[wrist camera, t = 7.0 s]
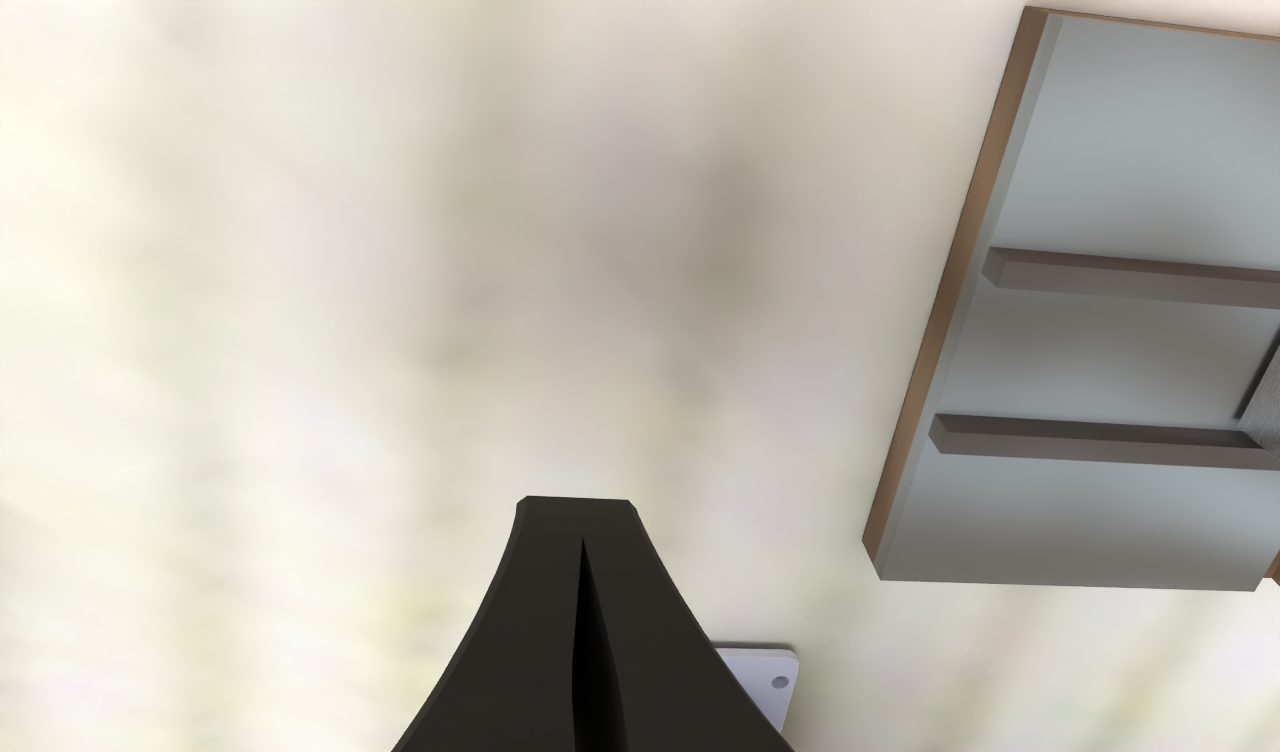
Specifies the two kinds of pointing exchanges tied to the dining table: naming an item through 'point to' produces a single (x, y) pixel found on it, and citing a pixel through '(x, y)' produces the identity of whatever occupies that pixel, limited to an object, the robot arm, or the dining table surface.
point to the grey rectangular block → (1265, 410)
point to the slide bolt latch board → (1102, 324)
